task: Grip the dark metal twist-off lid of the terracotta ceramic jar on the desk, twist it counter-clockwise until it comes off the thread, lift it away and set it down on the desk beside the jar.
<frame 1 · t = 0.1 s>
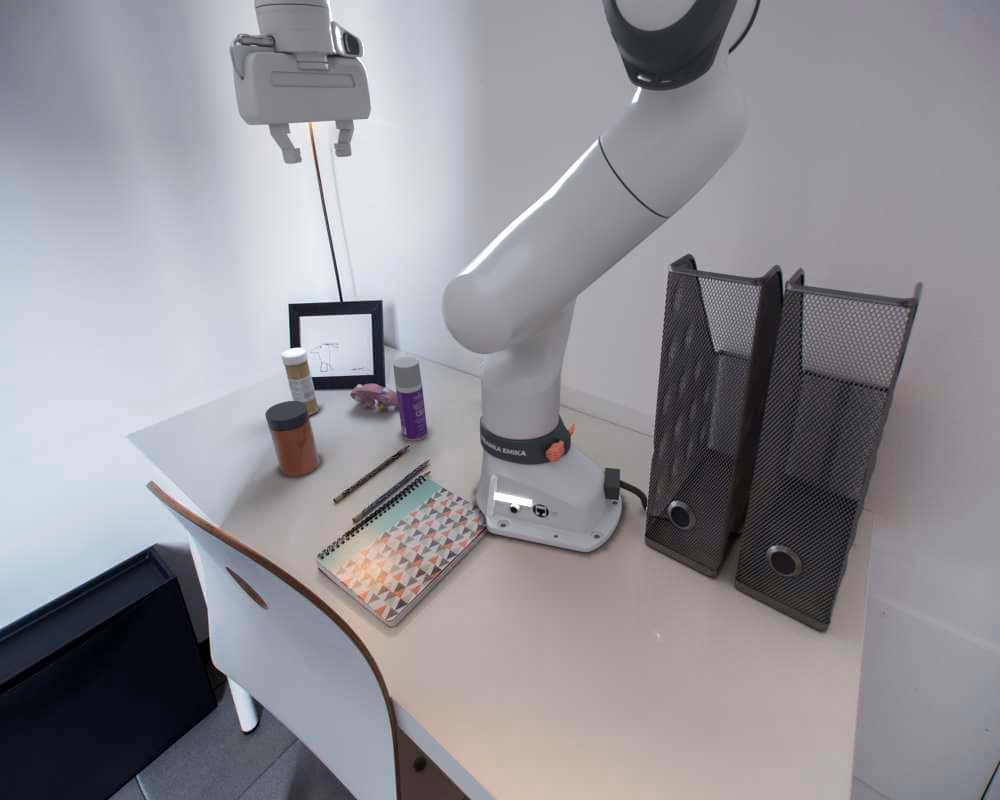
hand: (320, 159, 73), 48 cm above the table, tool pointing down, fingers open, 8 cm apart
sprinkles bottle: (307, 412, 108), on the table
jar: (300, 465, 92), on the table
pink toy animal: (378, 407, 109), on the table
lid: (286, 412, 87), point 11 cm above the table, screwed on, not yet turned
container: (415, 435, 100), on the table
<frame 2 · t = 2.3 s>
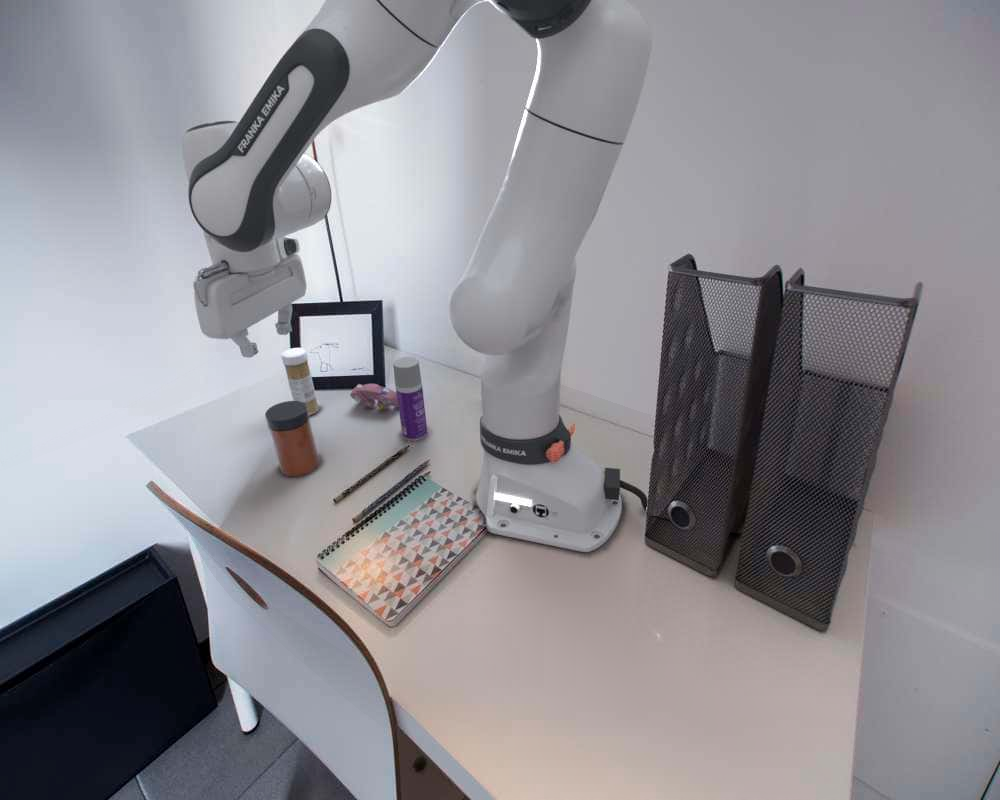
hand: (268, 343, 81), 23 cm above the table, tool pointing down, fingers open, 7 cm apart
nothing on the table moved.
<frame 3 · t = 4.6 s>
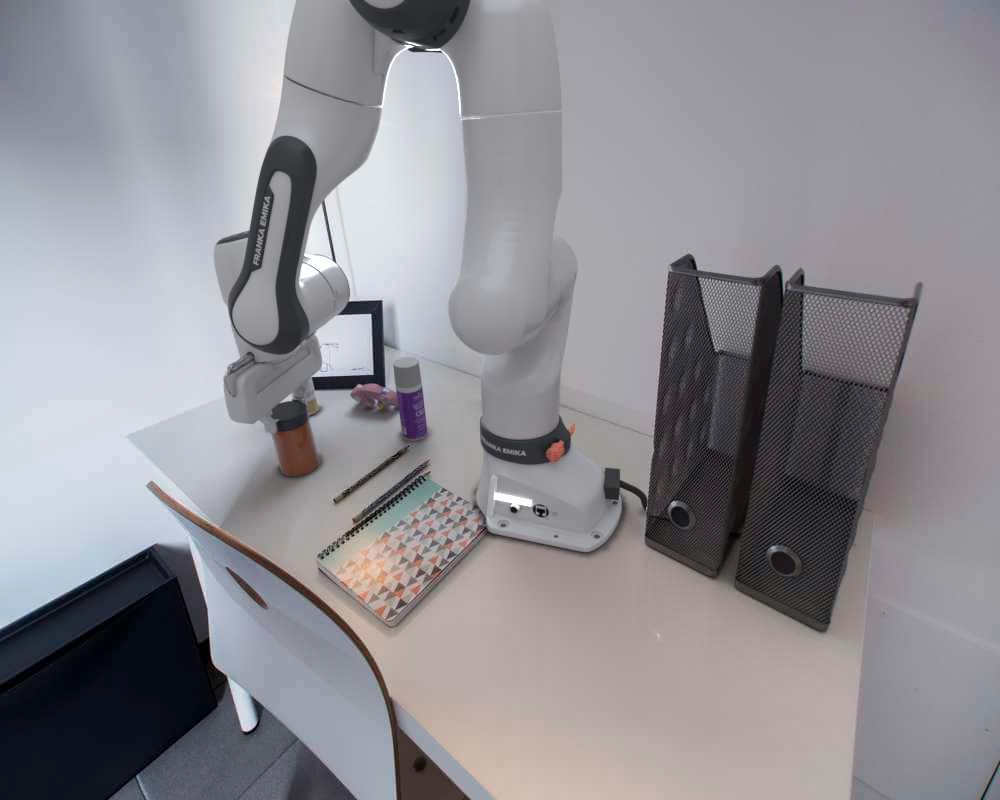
hand: (288, 418, 87), 10 cm above the table, tool pointing down, fingers closed on lid, 6 cm apart
lid: (286, 412, 87), point 11 cm above the table, screwed on, not yet turned, touching gripper
everything else where it was.
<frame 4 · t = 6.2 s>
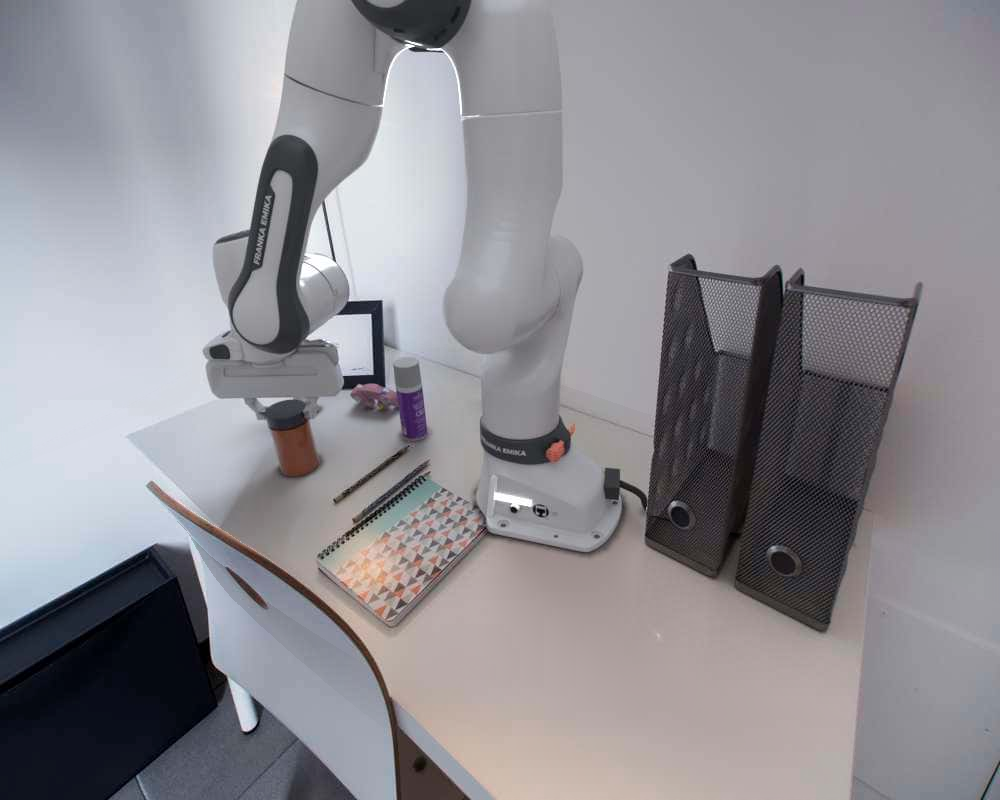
hand: (287, 417, 87), 10 cm above the table, tool pointing down, fingers closed on lid, 6 cm apart
lid: (286, 411, 87), point 11 cm above the table, turned 103° so far, risen 0.3 cm, still on its thread, touching gripper
everything else where it was.
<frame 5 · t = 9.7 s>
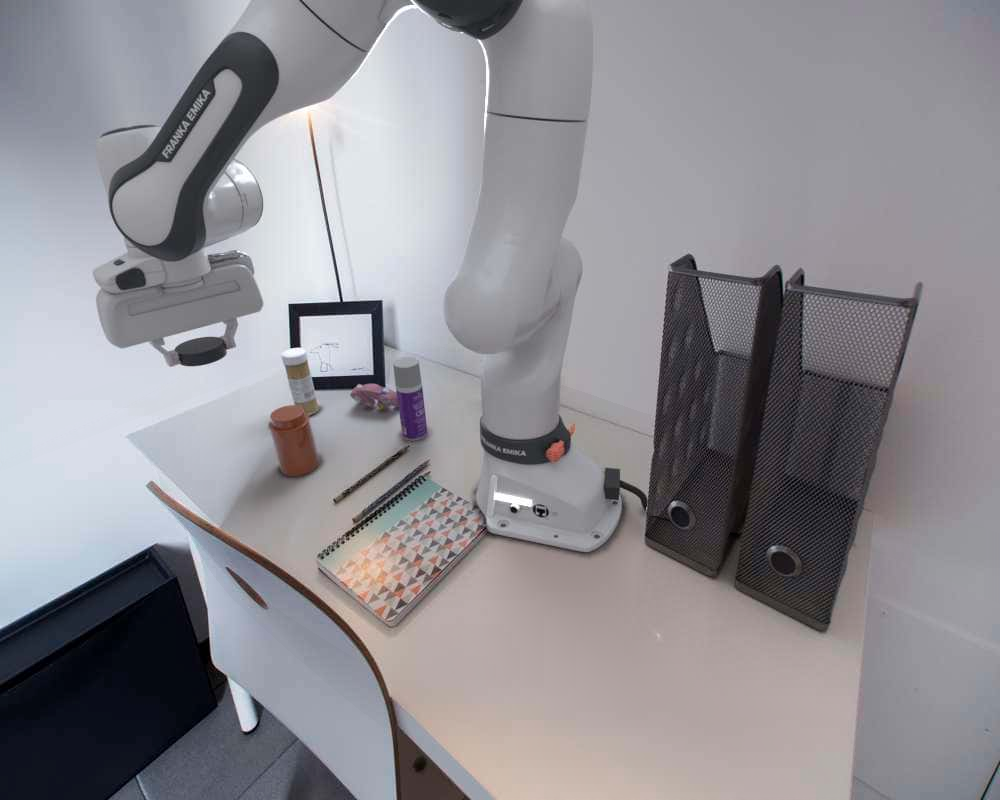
hand: (202, 356, 78), 23 cm above the table, tool pointing down, fingers closed on lid, 6 cm apart
lid: (200, 347, 77), point 24 cm above the table, off its thread, touching gripper
everything else where it was.
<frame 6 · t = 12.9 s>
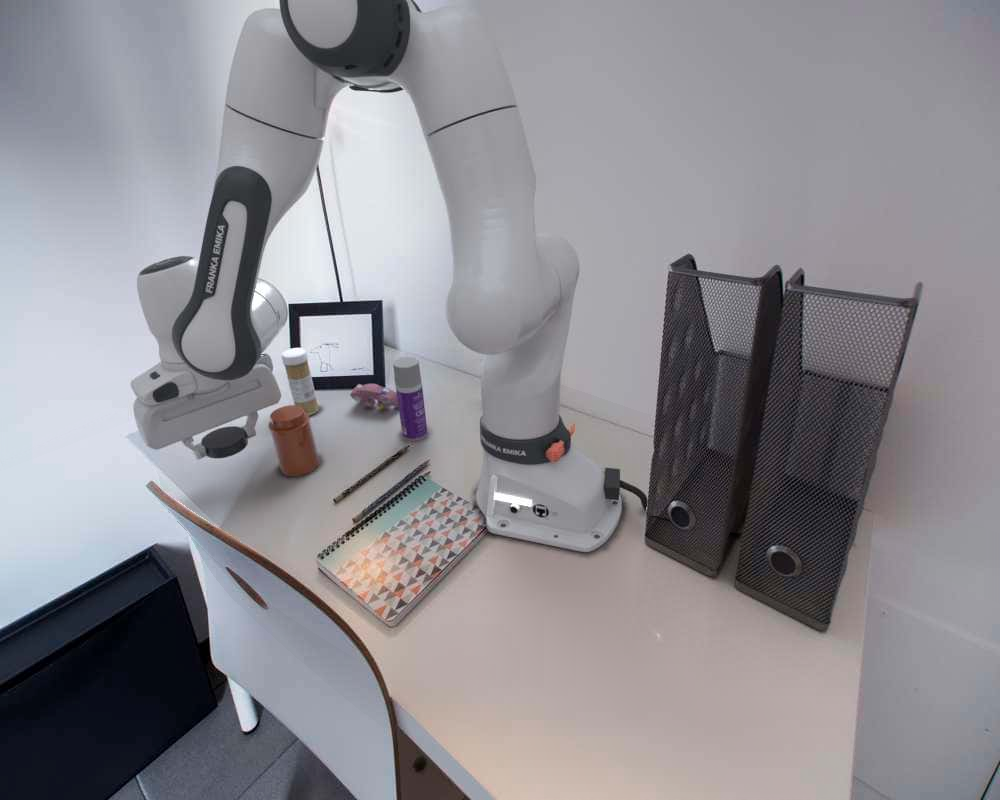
hand: (226, 446, 85), 7 cm above the table, tool pointing down, fingers closed on lid, 6 cm apart
lid: (224, 439, 85), point 8 cm above the table, off its thread, touching gripper
everything else where it was.
when the fingers open (0 cm above the table, at t = 15.2 s): lid stays where it is, point 1 cm above the table.
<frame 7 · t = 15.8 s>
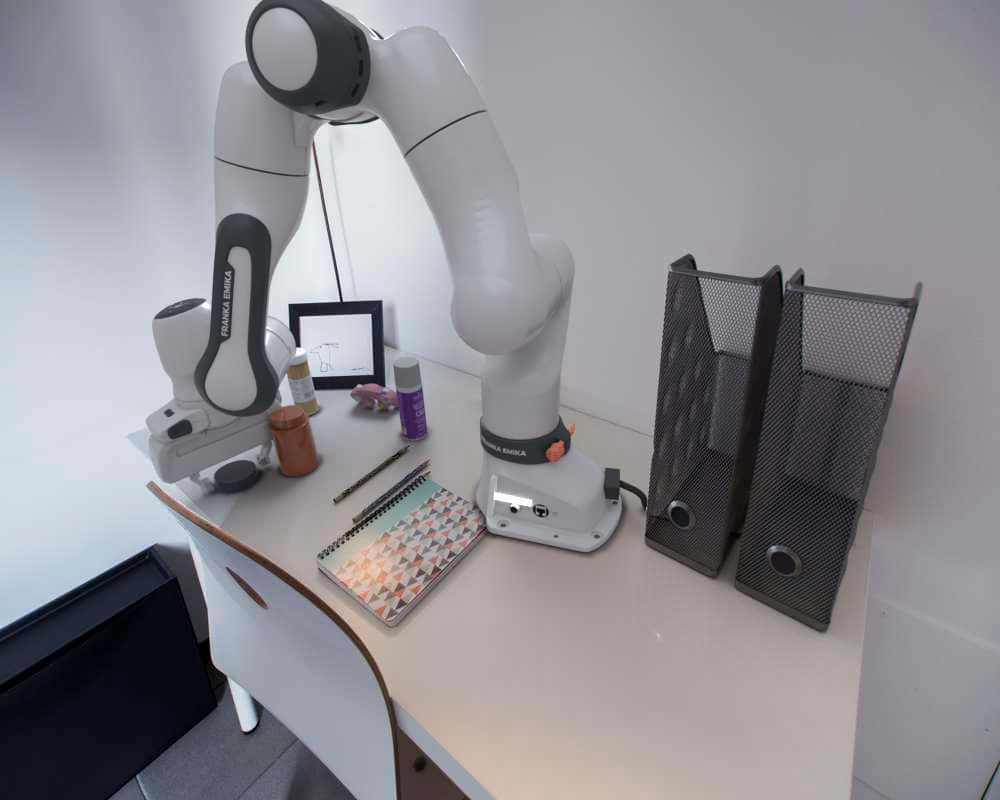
hand: (237, 476, 88), 1 cm above the table, tool pointing down, fingers open, 8 cm apart
lid: (235, 473, 88), point 1 cm above the table, off its thread
everything else where it was.
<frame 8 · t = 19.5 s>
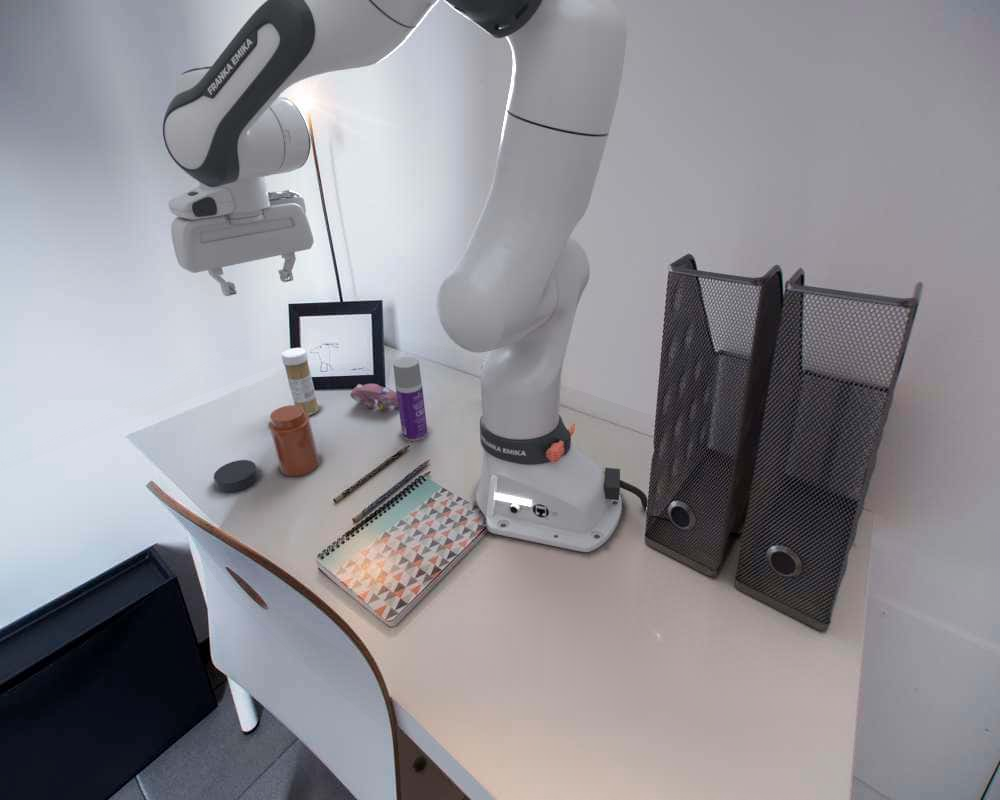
hand: (259, 287, 85), 29 cm above the table, tool pointing down, fingers open, 8 cm apart
nothing on the table moved.
at the end: lid came off its thread; lid point 1.5 cm above the table; the gripper is holding nothing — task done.
